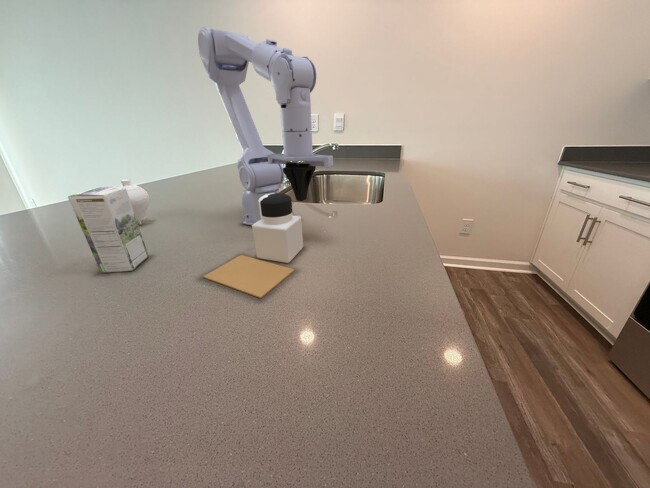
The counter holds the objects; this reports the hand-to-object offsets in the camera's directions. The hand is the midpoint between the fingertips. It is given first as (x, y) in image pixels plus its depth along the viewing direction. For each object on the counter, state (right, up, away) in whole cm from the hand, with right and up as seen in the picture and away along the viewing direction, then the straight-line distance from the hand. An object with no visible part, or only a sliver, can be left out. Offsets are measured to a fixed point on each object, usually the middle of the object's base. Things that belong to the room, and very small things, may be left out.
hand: (301, 199), depth 56 cm
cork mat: (-8, -15, -10) cm, 20 cm away
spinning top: (-45, -4, +14) cm, 47 cm away
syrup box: (-33, -14, -6) cm, 36 cm away
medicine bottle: (-4, -12, -3) cm, 13 cm away
